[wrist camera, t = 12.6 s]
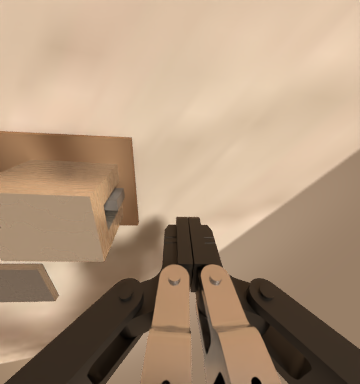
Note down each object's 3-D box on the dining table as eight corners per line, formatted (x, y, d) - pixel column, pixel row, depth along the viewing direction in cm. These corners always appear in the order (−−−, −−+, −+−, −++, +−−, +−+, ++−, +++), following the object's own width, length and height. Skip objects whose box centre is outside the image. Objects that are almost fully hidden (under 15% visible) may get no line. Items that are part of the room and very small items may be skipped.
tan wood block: (52, 213, 16) (1, 260, 11) (31, 159, 14) (-46, 191, 9) (123, 216, 17) (104, 261, 12) (117, 164, 14) (89, 196, 9)
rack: (11, 219, 17) (-47, 262, 13) (-40, 129, 13) (-156, 144, 8) (138, 221, 18) (127, 262, 13) (131, 137, 14) (111, 155, 9)
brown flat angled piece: (0, 296, 23) (-5, 302, 23) (-27, 264, 20) (-34, 269, 19) (58, 295, 24) (55, 301, 23) (41, 263, 21) (37, 269, 20)
